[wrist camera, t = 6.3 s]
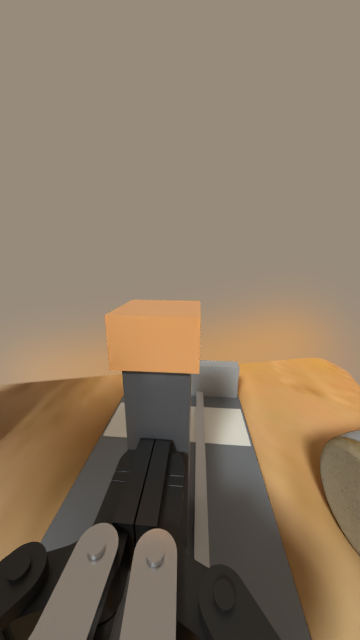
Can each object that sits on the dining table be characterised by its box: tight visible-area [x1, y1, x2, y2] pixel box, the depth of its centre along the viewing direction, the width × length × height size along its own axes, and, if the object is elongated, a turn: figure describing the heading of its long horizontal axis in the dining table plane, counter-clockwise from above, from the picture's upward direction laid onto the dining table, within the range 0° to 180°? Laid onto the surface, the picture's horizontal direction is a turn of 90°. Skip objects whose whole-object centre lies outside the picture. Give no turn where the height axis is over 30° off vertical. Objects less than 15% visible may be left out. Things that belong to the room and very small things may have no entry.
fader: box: [105, 300, 201, 548], centre depth 12 cm, size 4×4×13 cm
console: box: [40, 360, 312, 640], centre depth 17 cm, size 22×14×5 cm, turn 175°
